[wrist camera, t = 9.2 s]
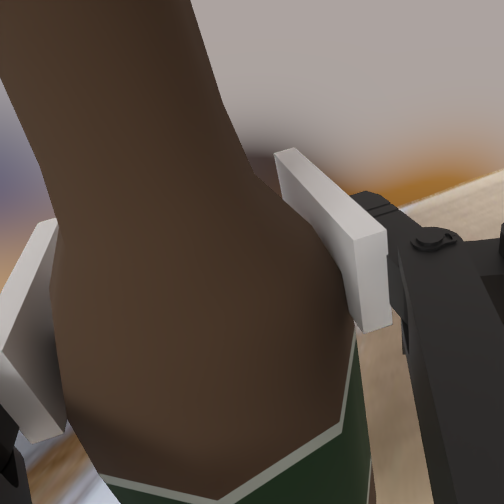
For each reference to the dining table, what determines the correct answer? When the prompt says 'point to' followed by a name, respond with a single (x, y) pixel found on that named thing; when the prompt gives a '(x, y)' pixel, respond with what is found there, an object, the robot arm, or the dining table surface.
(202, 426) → the beer bottle
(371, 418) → the dining table surface
